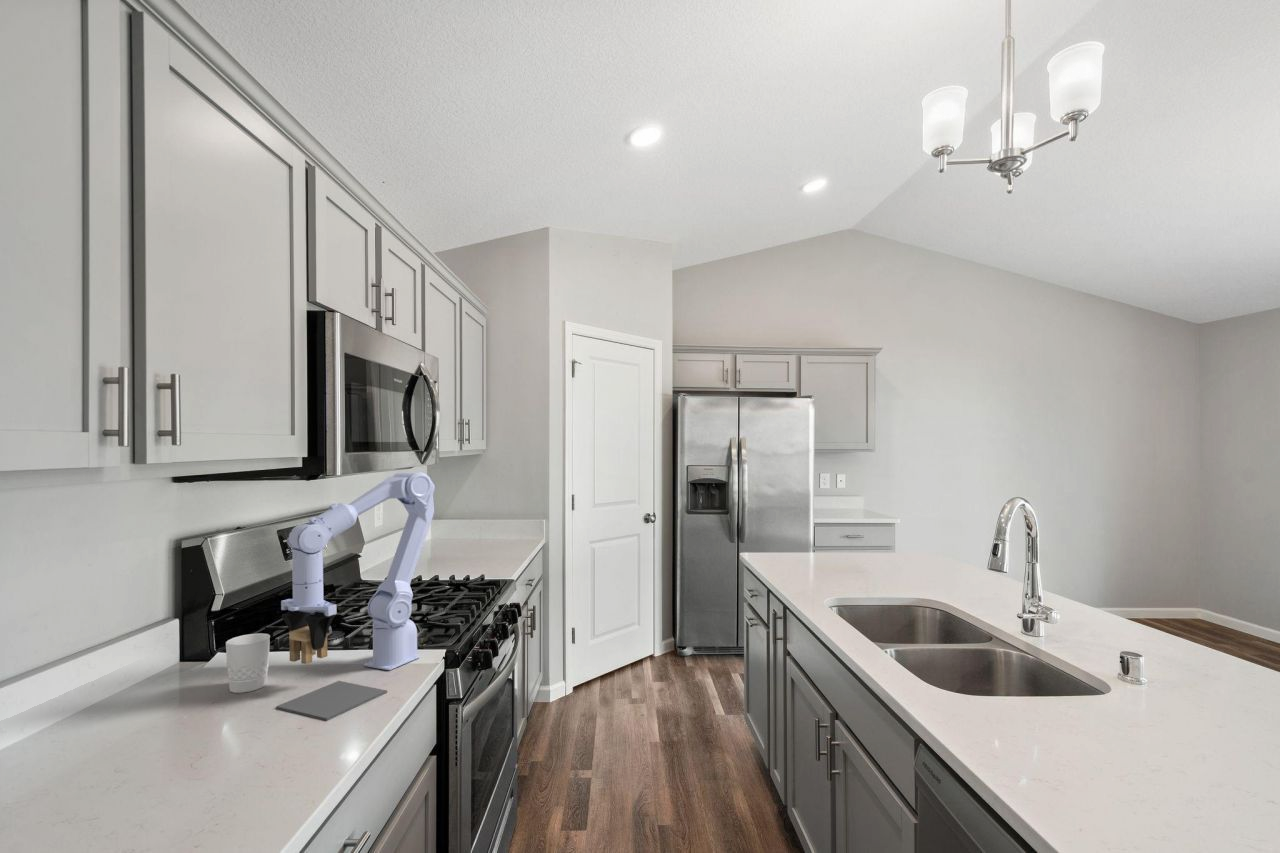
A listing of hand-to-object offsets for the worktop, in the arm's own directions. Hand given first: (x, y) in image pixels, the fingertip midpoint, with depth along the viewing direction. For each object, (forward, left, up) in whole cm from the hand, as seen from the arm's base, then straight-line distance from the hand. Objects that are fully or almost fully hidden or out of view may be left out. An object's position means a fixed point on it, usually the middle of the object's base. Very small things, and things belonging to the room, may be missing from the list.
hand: (308, 646), depth 132 cm
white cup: (+5, -12, -9) cm, 16 cm away
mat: (+3, +11, -8) cm, 14 cm away
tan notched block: (0, 0, -2) cm, 2 cm away
